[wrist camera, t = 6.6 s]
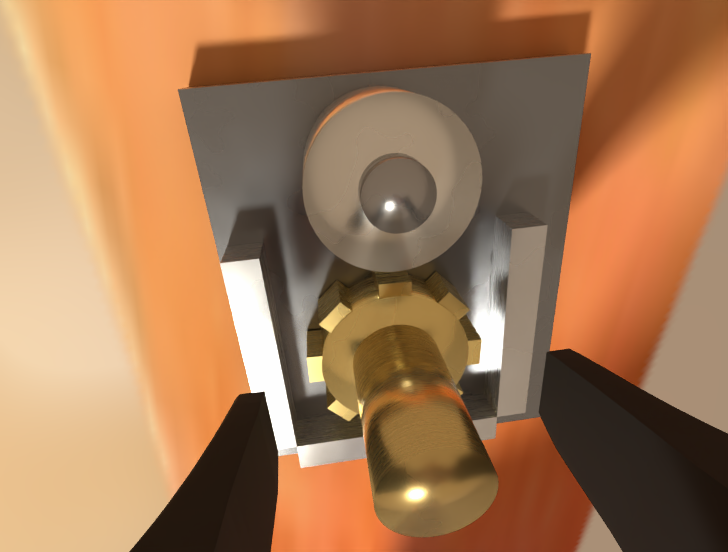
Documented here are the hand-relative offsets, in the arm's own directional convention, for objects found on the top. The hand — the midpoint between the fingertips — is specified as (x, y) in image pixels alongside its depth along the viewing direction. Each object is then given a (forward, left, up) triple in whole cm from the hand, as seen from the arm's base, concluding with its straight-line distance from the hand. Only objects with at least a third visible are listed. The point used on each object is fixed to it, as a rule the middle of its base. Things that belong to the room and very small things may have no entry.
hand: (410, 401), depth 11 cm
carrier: (+1, 0, -4) cm, 5 cm away
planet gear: (0, 0, -3) cm, 3 cm away
